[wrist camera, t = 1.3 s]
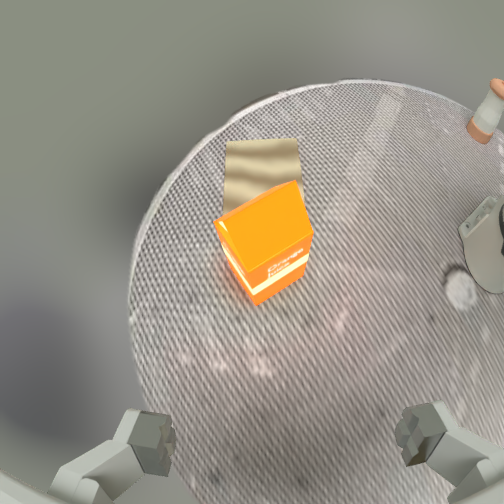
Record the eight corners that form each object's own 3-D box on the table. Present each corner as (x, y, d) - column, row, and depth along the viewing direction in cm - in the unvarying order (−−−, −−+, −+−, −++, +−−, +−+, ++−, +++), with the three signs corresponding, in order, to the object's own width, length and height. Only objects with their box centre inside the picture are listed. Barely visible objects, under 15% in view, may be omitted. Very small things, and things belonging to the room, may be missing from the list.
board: (227, 144, 59) (226, 141, 59) (296, 140, 58) (296, 138, 58) (223, 230, 51) (222, 228, 50) (306, 226, 50) (307, 224, 50)
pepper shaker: (462, 124, 60) (488, 70, 42) (477, 124, 60) (503, 73, 43) (477, 144, 57) (508, 91, 39) (492, 143, 57) (522, 93, 40)
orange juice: (304, 275, 47) (321, 205, 29) (256, 307, 45) (242, 253, 27) (275, 238, 50) (274, 155, 32) (229, 266, 48) (202, 194, 30)
